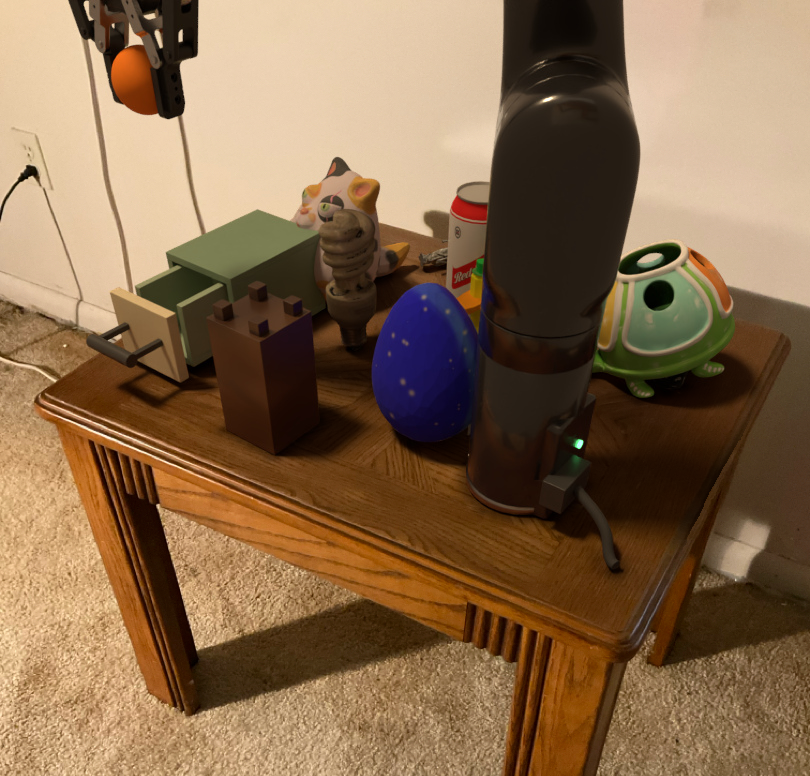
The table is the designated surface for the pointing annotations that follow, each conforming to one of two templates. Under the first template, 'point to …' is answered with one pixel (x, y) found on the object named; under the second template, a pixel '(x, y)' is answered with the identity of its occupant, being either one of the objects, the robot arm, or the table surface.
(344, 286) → the light bulb
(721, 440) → the table surface
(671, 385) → the toy car
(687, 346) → the turtle holder
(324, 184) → the figurine
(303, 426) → the stand
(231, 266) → the cabinet
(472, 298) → the toy figure
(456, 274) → the beer can
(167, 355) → the drawer
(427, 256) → the angel statue
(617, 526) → the table surface
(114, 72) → the ball
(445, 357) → the ornament
